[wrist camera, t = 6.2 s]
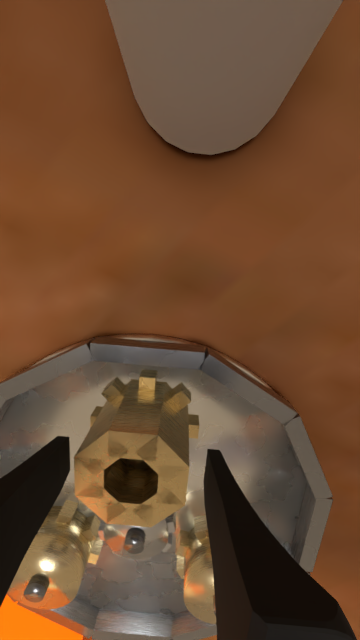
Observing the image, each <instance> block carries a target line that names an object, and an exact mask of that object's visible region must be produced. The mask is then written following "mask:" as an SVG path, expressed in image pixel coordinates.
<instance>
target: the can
mask: <svg viewBox="0 0 360 640" xmlns="http://www.w3.org/2000/svg"><path fill="white" fill-rule="evenodd" d="M105 1H106V4H107V8H108V11H109V14H110V18H111V21H112V24H113V28H114V31H115V34H116V37H117V41H118V44H119V47H120V51H121V54H122V57H123V61H124V64H125V67H126V70H127V74H128V77H129V80H130V84H131V87H132V90H133V94H134V97H135V99H136V101H137V103H138V105H139V107H140V109H141V111H142V113H143V115H144V117H145V118H146V120H147V122H148V124H149V125H150V126H151V127H152V128H153V129H154V130H155V131H156V132H157V133H158V134H159V135H160V136H161V137H162V138H163V139H164V140H165V141H166V142H168V143H170V144H172V145H174V146H176V147H178V148H180V149H182V150H184V151H186V152H190V153H198V154H207V155H213V154H218V153H222V152H226V151H230V150H234V149H236V148H238V147H239V146H241V145H243V144H244V143H246V142H247V141H249V140H250V139H252V138H254V137H255V136H257V135H258V133H259V132H260V131H261V130H262V129H263V128H264V126H265V125H266V124H267V123H268V122H269V121H270V119H271V118H272V117H273V116H274V115H275V113H276V112H277V110H278V108H279V107H280V105H281V103H282V102H283V100H284V98H285V97H286V95H287V93H288V92H289V90H290V88H291V87H292V85H293V83H294V82H295V80H296V78H297V77H298V75H299V73H300V72H301V70H302V68H303V66H304V65H305V63H306V61H307V60H308V58H309V56H310V55H311V53H312V51H313V50H314V48H315V46H316V45H317V43H318V41H319V40H320V38H321V36H322V35H323V33H324V31H325V30H326V28H327V26H328V25H329V23H330V21H331V20H332V18H333V16H334V15H335V13H336V11H337V10H338V8H339V6H340V5H341V3H342V1H343V0H105Z"/></svg>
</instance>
